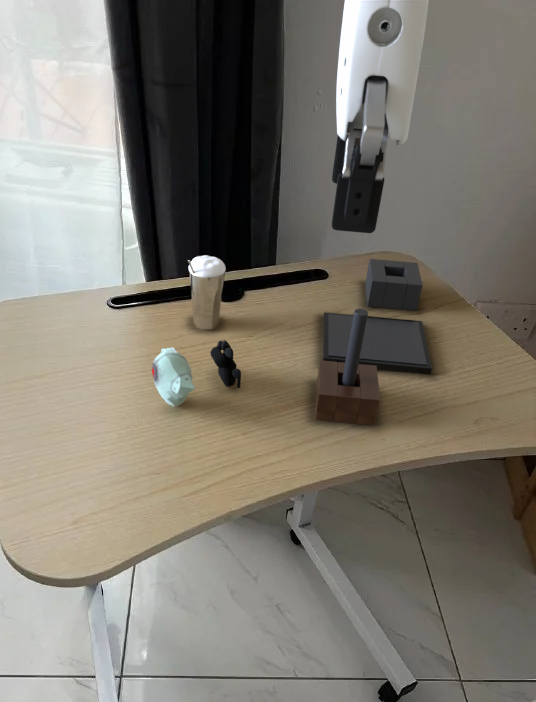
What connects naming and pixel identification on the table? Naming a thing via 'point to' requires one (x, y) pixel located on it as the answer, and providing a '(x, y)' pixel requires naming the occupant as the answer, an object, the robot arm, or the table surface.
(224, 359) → the wireless earbuds
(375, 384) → the pen stand
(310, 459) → the table surface
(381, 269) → the dock
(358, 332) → the stylus
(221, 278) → the milkshake
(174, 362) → the robot head
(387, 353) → the tablet
